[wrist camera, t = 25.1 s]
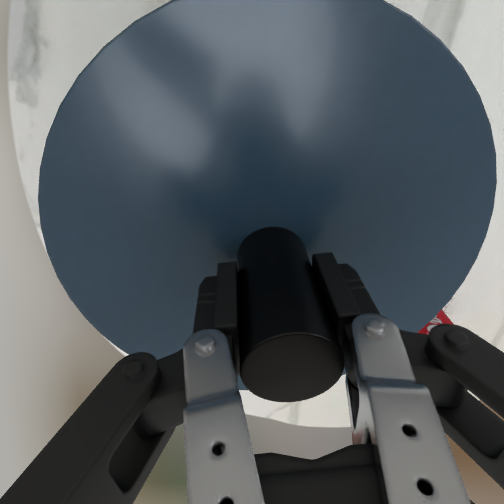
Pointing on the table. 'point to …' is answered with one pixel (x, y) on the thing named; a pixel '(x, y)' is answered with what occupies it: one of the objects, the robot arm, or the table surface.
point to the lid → (266, 177)
